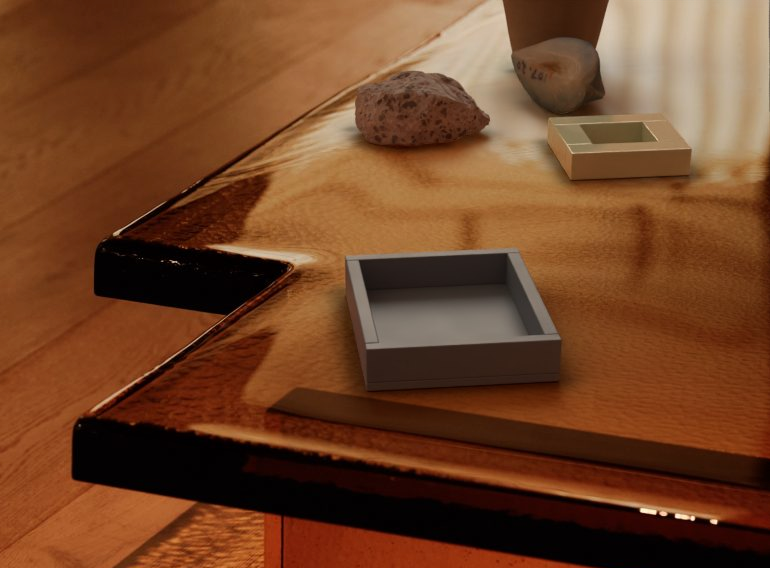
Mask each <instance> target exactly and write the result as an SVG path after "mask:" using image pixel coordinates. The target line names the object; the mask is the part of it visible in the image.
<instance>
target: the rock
mask: <svg viewBox="0 0 770 568" xmlns="http://www.w3.org/2000/svg"><path fill="white" fill-rule="evenodd" d="M354 108H355V111H354V116H355V118H354V122H355V123H354V124H355V127H356V128H357V130H358V131H359V132H360V133H361V134H362V135H363V136H364V137H365V139H366V142H368V143H370V144H373V145H378V146H403V147H405V146H412V147H419V146H422V145H433V144H439V143H440V144H446V143H450V142H455V141H457V140H459V138H463V137H464V136H468V135H472V134H473V135H475V134H480V133H481V131H483V130H484V129H485V128H486V127H487V126H489V125H490V122H491V117H490V115H489V114H488V113H486V112H485V110H483V109H481V108H480V107H479V106H478V104H477V102H476V100H475V99H474V98H473V97H472V96H471V95H470V94H468V92H467V91H466V90H465V88H464V87H463V85H462V84H461V83H460V82H459V81H458V80H456V79H454V78H452V77H451V76H447V75H445V74H444V73H441V72H440V73H439V72H424V71H421V70H402V71H399V72H397V73H395V74H391V75H390V76H389V77H388V78H387V79H386V80H382V81H379V82H373V83H371V82H370V83H365V84H361V85H359V86H358V88H357V89H356V98H355V99H354Z"/></svg>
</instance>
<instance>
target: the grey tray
mask: <svg viewBox="0 0 770 568" xmlns="http://www.w3.org/2000/svg"><path fill="white" fill-rule="evenodd" d="M344 280H345V281H344V283H345V284H344V286H345V289H344V290H345V296H346V301H347V306H348V312H349V316H350V320H351V325H352V330H353V334H354V339H355V344H356V348H357V352H358V357H359V362H360V367H361V371H362V376H363V381H364V385H365V390H366V391H367V392H377V391H397V390H416V389H431V388H432V389H435V388H437V389H438V388H453V387H454V388H456V387H473V386H474V387H475V386H491V385H492V386H494V385H512V384H530V383H531V384H533V383H549V382H551V383H552V382H559V381H560V377H561V360H562V343H563V339H562V337H561V335H560V334H559V331H558V329H557V326H556V325H555V323H554V321H553V319H552V318H551V315H550V313H549V311H548V308H547V307H546V305H545V302H544V300H543V298H542V296H541V294H540V292H539V290H538V287H537V286H536V283H535V282H534V280H533V277H532V275H531V273H530V271H529V269H528V267H527V265H526V263H525V261H524V259H523V257H522V255H521V253H520V250H519V248H518V247H504V248H480V249H479V248H478V249H462V250H458V249H457V250H439V251H419V252H418V251H417V252H396V253H394V252H393V253H377V254H376V253H375V254H373V253H371V254H351V255H349V254H348V255H344Z"/></svg>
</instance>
